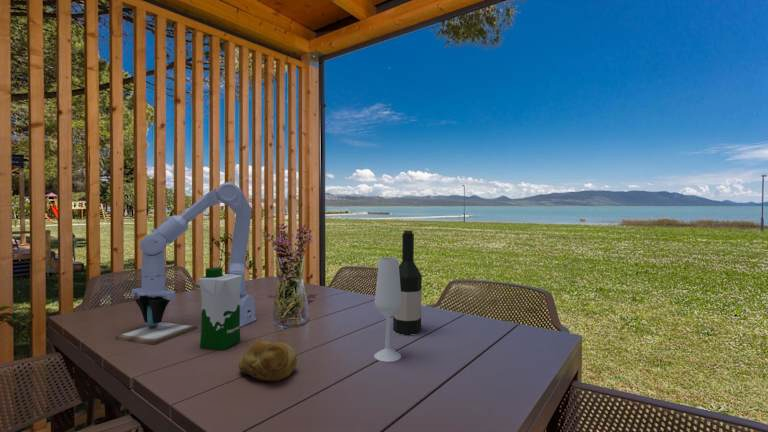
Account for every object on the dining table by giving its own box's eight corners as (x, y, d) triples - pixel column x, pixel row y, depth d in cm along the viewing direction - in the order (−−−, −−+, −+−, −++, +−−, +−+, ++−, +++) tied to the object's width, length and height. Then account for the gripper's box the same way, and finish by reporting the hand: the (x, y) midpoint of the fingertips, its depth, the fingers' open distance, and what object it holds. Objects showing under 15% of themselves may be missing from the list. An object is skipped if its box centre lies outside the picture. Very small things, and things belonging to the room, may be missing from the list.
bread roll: (227, 377, 76) (228, 339, 76) (260, 360, 85) (261, 326, 85) (275, 390, 71) (275, 349, 71) (305, 370, 80) (305, 334, 80)
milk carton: (216, 337, 100) (217, 265, 100) (245, 340, 98) (246, 267, 98) (194, 349, 91) (194, 270, 91) (225, 352, 90) (226, 272, 89)
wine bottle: (420, 327, 111) (422, 230, 111) (421, 336, 103) (422, 231, 102) (394, 325, 112) (395, 229, 112) (392, 334, 104) (393, 231, 103)
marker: (161, 325, 105) (161, 303, 105) (152, 328, 103) (152, 306, 102) (153, 324, 106) (153, 303, 106) (144, 327, 103) (144, 305, 103)
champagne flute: (405, 354, 89) (407, 258, 89) (392, 363, 84) (394, 261, 83) (382, 348, 93) (383, 256, 93) (368, 357, 87) (369, 259, 87)
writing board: (196, 328, 107) (196, 325, 107) (154, 344, 94) (154, 341, 94) (161, 323, 111) (161, 320, 111) (115, 338, 98) (115, 335, 98)
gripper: (121, 276, 103) (121, 323, 103) (159, 279, 98) (159, 328, 98) (144, 272, 109) (144, 316, 110) (181, 275, 105) (181, 321, 105)
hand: (153, 322), depth 104 cm, fingers closed on marker, 3 cm apart
